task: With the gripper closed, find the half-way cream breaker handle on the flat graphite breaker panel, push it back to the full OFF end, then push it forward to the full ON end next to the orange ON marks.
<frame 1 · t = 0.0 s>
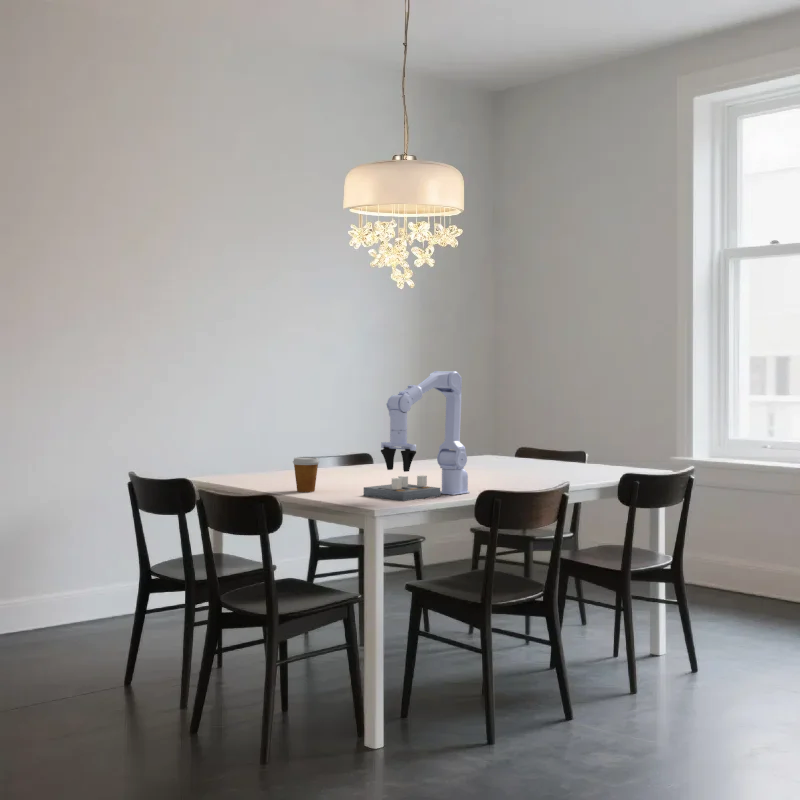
hand: (398, 470, 352), 10 cm above the table, fingers open, 7 cm apart
breaker 2: (421, 480, 367), point 5 cm above the table, slide at 3.0 cm
disposable coffee cup: (305, 491, 375), on the table
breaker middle: (403, 481, 364), point 5 cm above the table, slide at 0.0 cm
panel: (401, 495, 364), on the table
breaker 1: (396, 483, 357), point 5 cm above the table, slide at 3.0 cm
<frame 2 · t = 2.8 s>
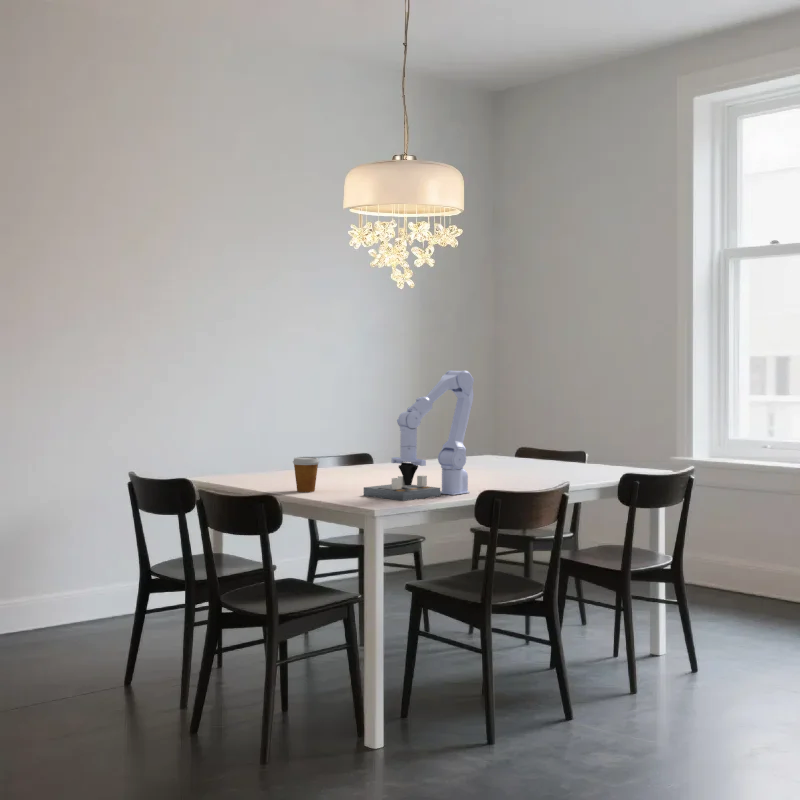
hand: (408, 485, 362), 4 cm above the table, fingers closed
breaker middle: (402, 481, 364), point 5 cm above the table, slide at -0.2 cm, touching gripper
everything else where it was.
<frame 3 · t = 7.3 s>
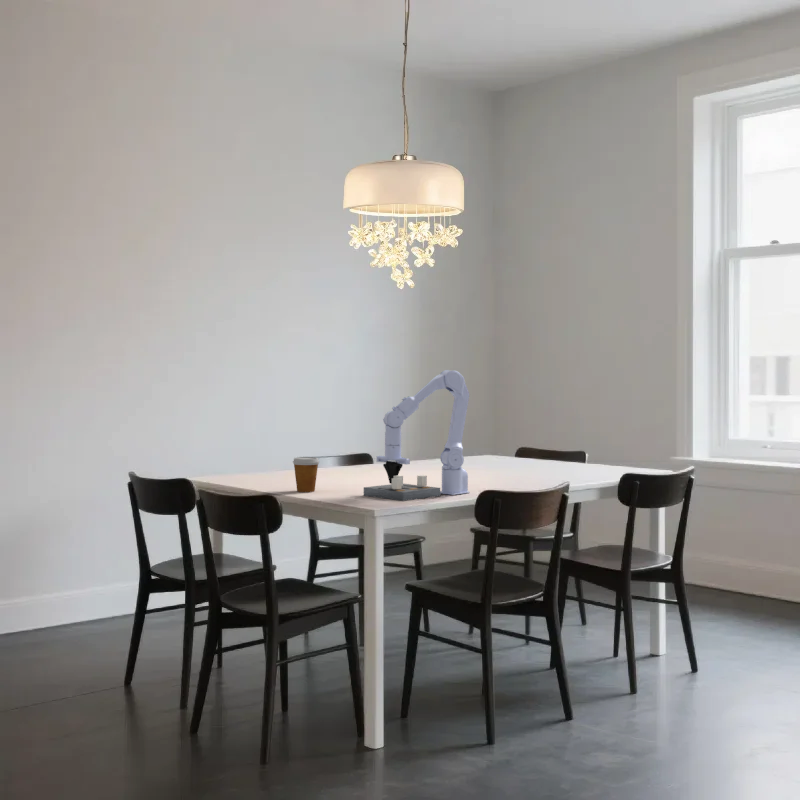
hand: (392, 483, 367), 4 cm above the table, fingers closed
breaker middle: (398, 480, 366), point 5 cm above the table, slide at -2.3 cm, touching gripper
everything else where it was.
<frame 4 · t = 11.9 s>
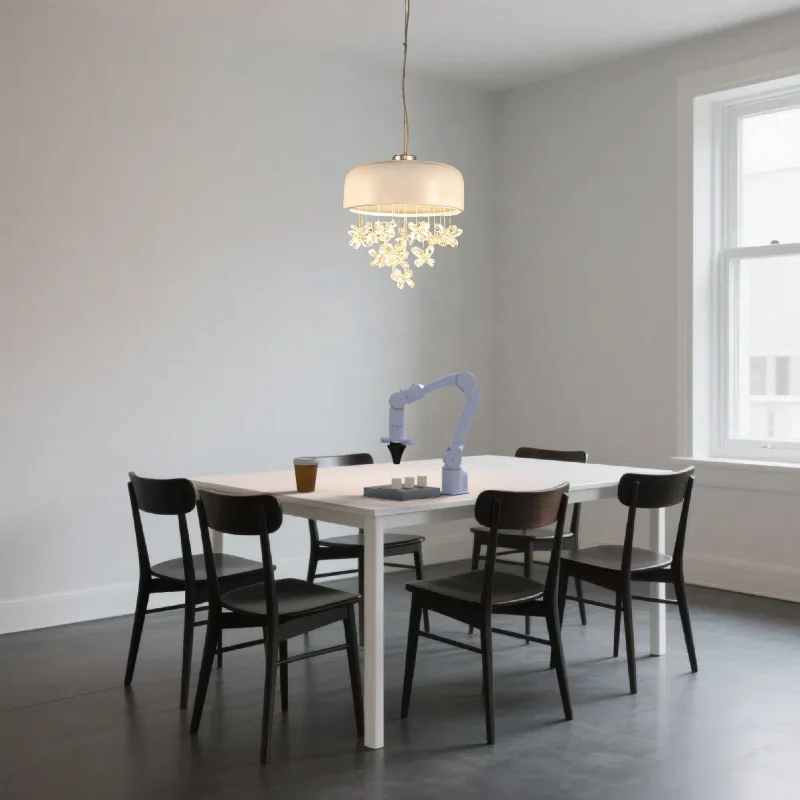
hand: (396, 464, 371), 10 cm above the table, fingers closed
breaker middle: (409, 482, 362), point 5 cm above the table, slide at 3.1 cm
everything else where it was.
at the end: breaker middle slide at 3.1 cm; breaker 2 slide at 3.0 cm; breaker 1 slide at 3.0 cm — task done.
